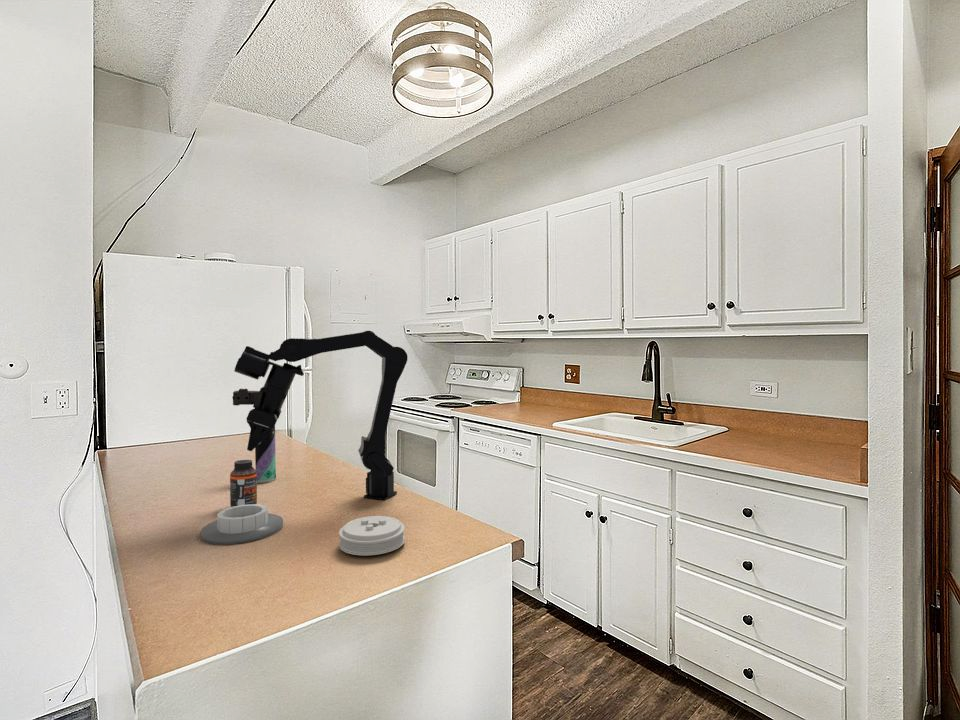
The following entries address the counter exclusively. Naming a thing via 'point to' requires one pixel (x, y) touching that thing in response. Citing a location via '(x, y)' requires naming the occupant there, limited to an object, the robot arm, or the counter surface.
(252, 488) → the supplement bottle
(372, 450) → the robot arm
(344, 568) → the counter surface
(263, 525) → the ring mount
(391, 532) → the lid
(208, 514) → the counter surface
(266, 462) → the spray can
